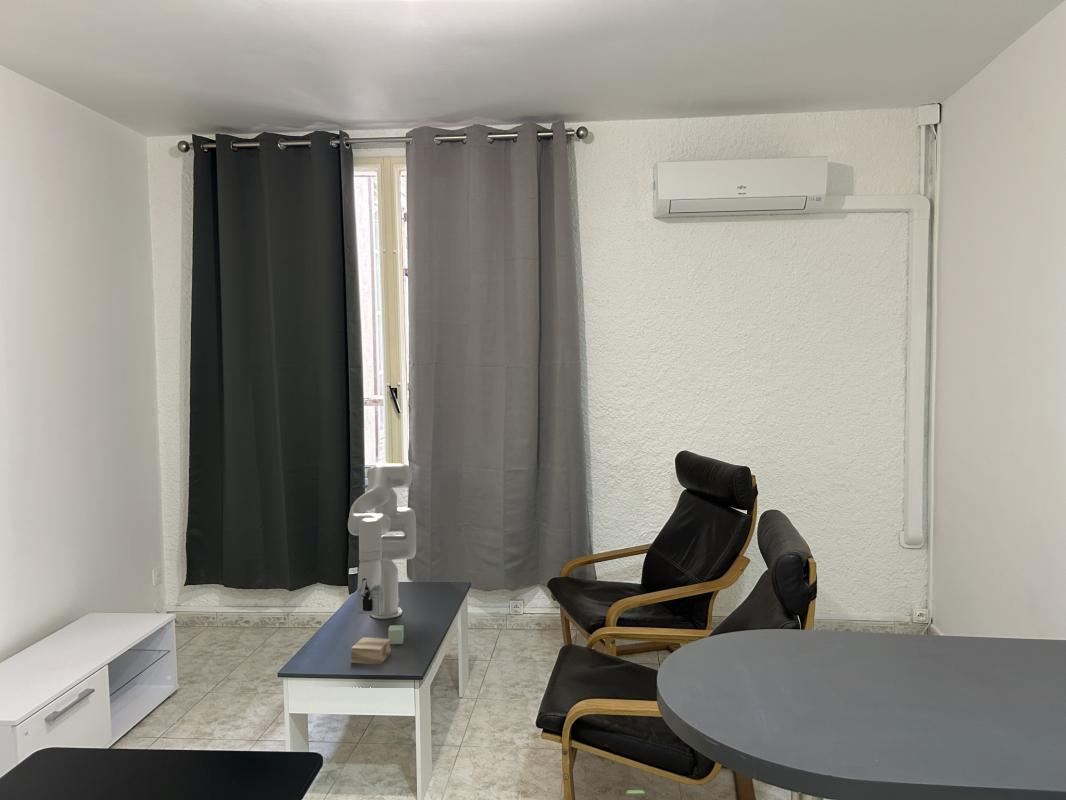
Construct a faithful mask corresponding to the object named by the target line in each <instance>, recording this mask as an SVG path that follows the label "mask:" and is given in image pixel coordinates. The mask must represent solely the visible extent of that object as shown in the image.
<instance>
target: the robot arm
mask: <svg viewBox="0 0 1066 800" xmlns="http://www.w3.org/2000/svg"><path fill="white" fill-rule="evenodd" d="M366 478H367V481H368V482H367V487H366V492H364V493H363V494H361V495H360V496H359V497H358V498H357V499H355V501H354V502H353V503H352V505H351V507H350V511H349V515H348V516H349V517H348V521H347V529H348V532H349V533H350V535H353V536H358V560H359V565H358V571H357V572H358V574H357V589H358V590H361V595H362V599H363V611H372V599H371V595H372V590H373V589H374V588H376V587H377V586H380V587H383V604H384V611H383V612H382V613H381V614H380V615H370V617H371V618H373V619H382V620H387V619H389V620H390V619H394V618H397V617H400V616H401V615H402V614H403V609H402V608H401V607H399V602H400V598H399V569H398V566H397V565H396V563H395V562H394V561H395V560H411V559H413V558H414V557H415V556H416V554H417V517H416V513H415V512H416V511H415V510H414V508H411V507H398V496H397V493H396V491H395V489H397V488H404V489H405V488H409V487H411V484H412V482H413V481H412V480H413V472H412V469H411V467H410V466H409V465H407V464H404V463H381V464H380V463H379V464H376V465H374V466H371V467H368V469H367V471H366ZM394 488H395V489H394ZM371 510H375V511H374V512H373V513H371V512H369V513H368V511H371ZM387 533H403V534H387ZM393 560H394V561H393ZM366 588H369V590H366ZM366 592H369V595H368V593H366Z"/></svg>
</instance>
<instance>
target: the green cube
mask: <svg viewBox="0 0 1066 800" xmlns="http://www.w3.org/2000/svg"><path fill="white" fill-rule="evenodd" d="M404 627H405V626H404V624H403V625H402V624H400V625H398V624H397V625H389V627H388V631H387V632H388V634H387V636H388V637H387V639H390V645H402V644H403V643H404V637H405V634H404V631H405V630H404Z"/></svg>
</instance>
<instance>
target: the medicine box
mask: <svg viewBox="0 0 1066 800" xmlns="http://www.w3.org/2000/svg"><path fill="white" fill-rule="evenodd" d="M366 590H369V588H366ZM356 593H357V594H356V597H357V599H356V602H357V603H356V605H357V607H356V608H357V609H356V610H357V611H356V613H357V615H367V616H371V615H380V614H381V613H382V612H383V611H384V604H383V587H380V586H377V587H376V588H374V589H373V590H372V595H371V599H372V611H363V599H362V595H361V590H358V588H357V589H356ZM366 593H368V595H369V592H366Z"/></svg>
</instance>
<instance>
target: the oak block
mask: <svg viewBox="0 0 1066 800" xmlns="http://www.w3.org/2000/svg"><path fill="white" fill-rule="evenodd" d="M350 651H351V652H350V655H351V658H350V662H351V663H352V664H354V663H355V664H364V665H377V666H378V665H379V666H380V665H381V664H382V663H383V662H384V661H385V660H386V659H387V658H388V657H389V656H390V654H391V653H392V652H391V644H390V639H388V638H381V637H368V636H367V637H366V636H365V637H364V636H363V637H361V638H360V639H359V640H358V641H357V642H356V643H355V644H354V645H352V646H351V649H350Z"/></svg>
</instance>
